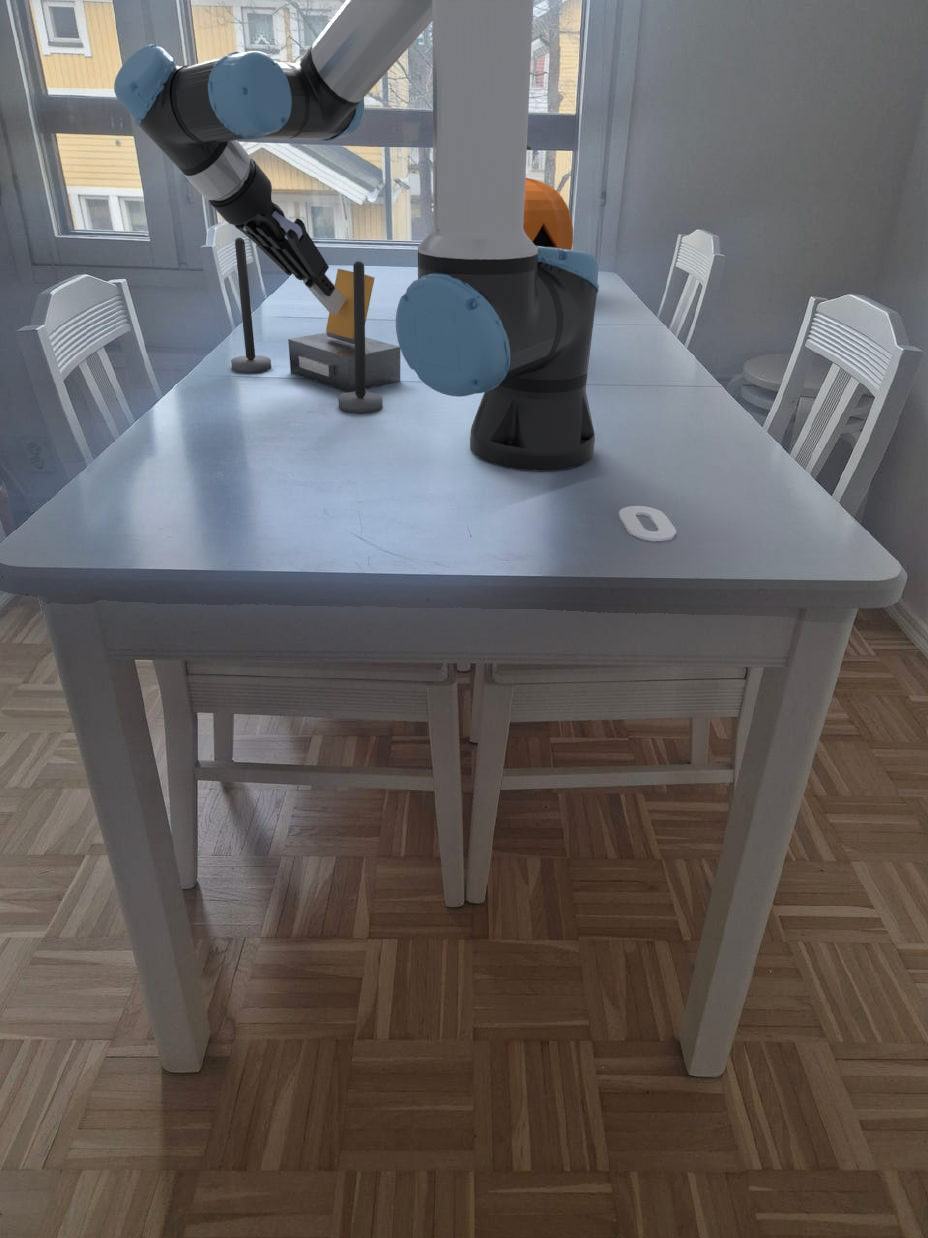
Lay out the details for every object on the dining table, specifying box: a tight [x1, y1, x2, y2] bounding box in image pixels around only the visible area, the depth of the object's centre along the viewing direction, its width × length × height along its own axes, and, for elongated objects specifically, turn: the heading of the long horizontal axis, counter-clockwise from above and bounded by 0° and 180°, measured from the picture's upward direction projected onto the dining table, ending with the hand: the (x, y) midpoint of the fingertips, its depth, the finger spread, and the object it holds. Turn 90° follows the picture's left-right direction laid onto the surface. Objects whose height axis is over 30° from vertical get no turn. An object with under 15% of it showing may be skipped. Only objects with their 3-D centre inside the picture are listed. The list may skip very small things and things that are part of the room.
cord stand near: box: [337, 260, 384, 414], centre depth 110 cm, size 6×6×19 cm
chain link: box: [618, 505, 677, 540], centre depth 85 cm, size 8×1×5 cm
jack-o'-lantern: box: [523, 144, 574, 250], centre depth 185 cm, size 28×28×30 cm
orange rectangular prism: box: [325, 268, 375, 345], centre depth 123 cm, size 2×6×10 cm, turn 46°
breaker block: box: [288, 332, 401, 393], centre depth 126 cm, size 11×14×5 cm
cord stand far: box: [230, 237, 272, 374], centre depth 125 cm, size 6×6×19 cm
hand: (337, 305), depth 122 cm, fingers closed
